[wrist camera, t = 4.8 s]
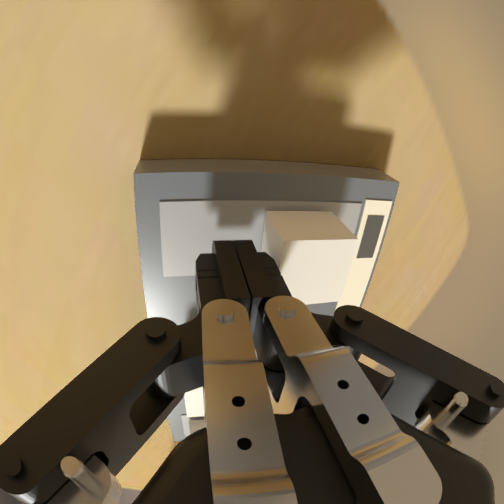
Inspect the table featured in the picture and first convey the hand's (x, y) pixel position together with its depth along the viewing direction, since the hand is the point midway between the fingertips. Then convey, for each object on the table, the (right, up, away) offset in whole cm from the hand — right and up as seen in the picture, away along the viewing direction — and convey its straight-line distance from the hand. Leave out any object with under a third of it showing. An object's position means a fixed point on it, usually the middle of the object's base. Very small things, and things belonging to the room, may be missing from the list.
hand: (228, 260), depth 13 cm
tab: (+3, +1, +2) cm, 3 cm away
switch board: (+1, -5, +8) cm, 9 cm away
